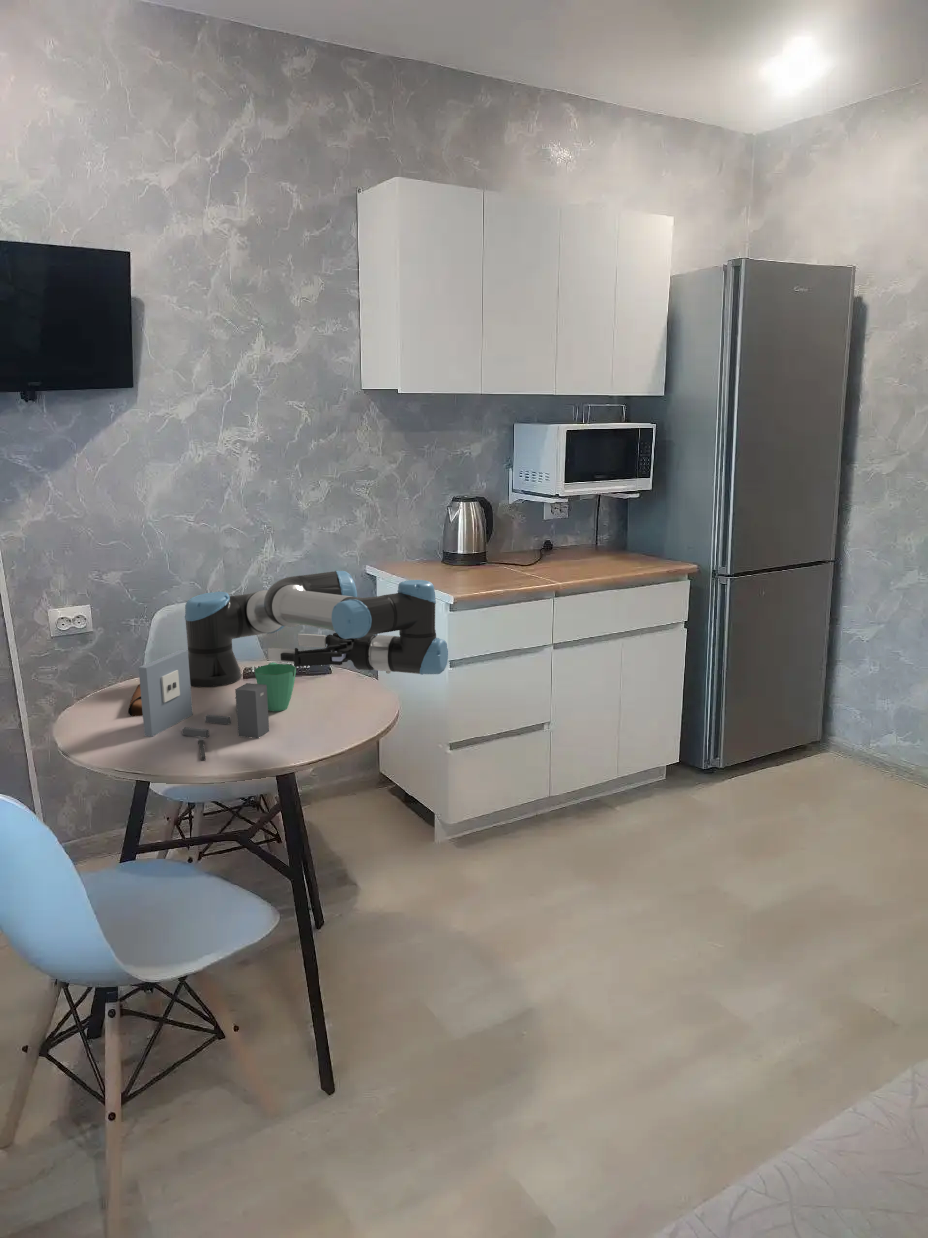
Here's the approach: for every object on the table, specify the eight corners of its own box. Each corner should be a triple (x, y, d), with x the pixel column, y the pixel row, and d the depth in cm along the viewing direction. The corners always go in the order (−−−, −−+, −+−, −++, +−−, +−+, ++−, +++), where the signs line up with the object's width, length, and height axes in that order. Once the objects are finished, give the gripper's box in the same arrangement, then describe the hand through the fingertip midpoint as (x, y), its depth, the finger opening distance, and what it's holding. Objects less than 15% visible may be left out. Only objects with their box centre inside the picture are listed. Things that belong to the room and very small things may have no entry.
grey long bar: (198, 741, 200) (197, 737, 200) (203, 740, 200) (203, 736, 200) (200, 760, 189) (200, 756, 188) (206, 760, 189) (206, 755, 189)
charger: (245, 728, 208) (242, 682, 206) (269, 731, 206) (267, 684, 204) (234, 736, 203) (231, 688, 201) (258, 738, 202) (255, 691, 199)
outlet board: (185, 714, 219) (180, 649, 215) (236, 719, 215) (232, 653, 211) (144, 736, 204) (138, 667, 200) (199, 741, 200) (193, 671, 196)
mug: (300, 712, 219) (298, 672, 217) (258, 716, 217) (256, 676, 214) (292, 695, 233) (291, 657, 231) (253, 698, 230) (251, 660, 228)
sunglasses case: (165, 713, 219) (149, 691, 217) (140, 729, 218) (123, 708, 216) (170, 692, 236) (154, 672, 234) (146, 707, 235) (131, 687, 233)
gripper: (351, 686, 181) (256, 678, 187) (396, 655, 204) (310, 649, 210) (350, 649, 179) (254, 643, 185) (395, 623, 202) (309, 618, 208)
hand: (284, 646), depth 198 cm, fingers open, 13 cm apart
